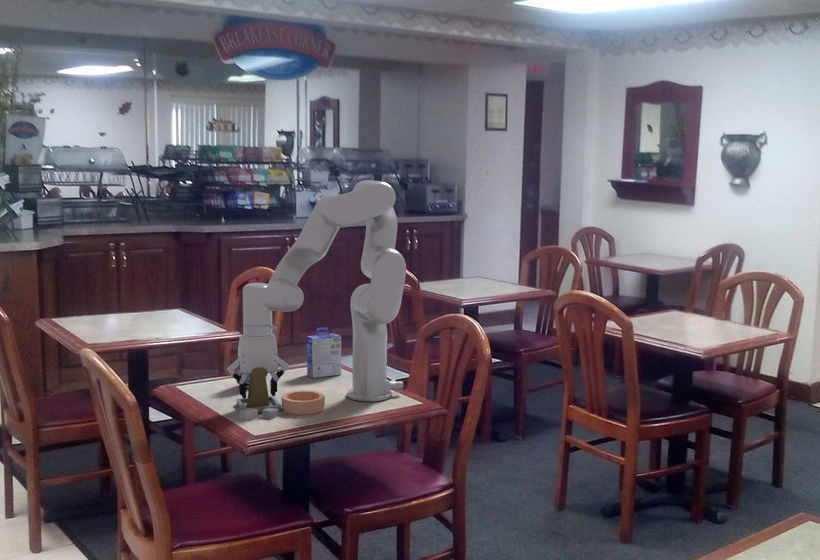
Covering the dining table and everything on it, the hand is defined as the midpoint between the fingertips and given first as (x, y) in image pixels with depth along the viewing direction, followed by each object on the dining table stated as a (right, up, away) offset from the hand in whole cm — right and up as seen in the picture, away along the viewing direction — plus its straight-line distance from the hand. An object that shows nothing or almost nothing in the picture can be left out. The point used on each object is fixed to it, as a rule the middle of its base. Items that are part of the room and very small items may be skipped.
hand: (258, 395), depth 230 cm
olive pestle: (0, -3, 0) cm, 3 cm away
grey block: (+4, -5, -7) cm, 9 cm away
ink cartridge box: (+14, +1, +36) cm, 39 cm away
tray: (0, -3, 0) cm, 3 cm away
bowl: (+12, -4, 0) cm, 12 cm away
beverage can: (-6, 0, +21) cm, 22 cm away
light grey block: (-1, -5, -8) cm, 10 cm away
